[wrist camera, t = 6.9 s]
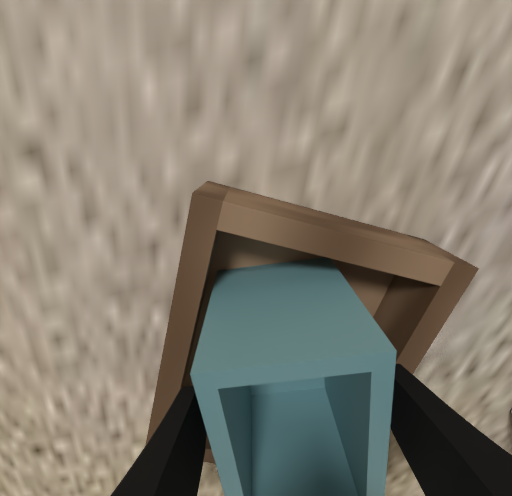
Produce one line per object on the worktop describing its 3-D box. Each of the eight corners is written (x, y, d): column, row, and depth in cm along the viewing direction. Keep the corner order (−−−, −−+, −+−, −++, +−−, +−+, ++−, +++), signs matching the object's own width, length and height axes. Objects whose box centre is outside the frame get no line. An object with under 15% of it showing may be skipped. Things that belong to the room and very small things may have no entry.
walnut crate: (424, 239, 13) (478, 268, 10) (327, 423, 17) (344, 482, 14) (207, 180, 11) (192, 193, 8) (164, 395, 16) (144, 452, 13)
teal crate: (329, 256, 12) (396, 350, 7) (332, 384, 15) (381, 526, 9) (217, 270, 12) (190, 374, 7) (242, 395, 15) (237, 540, 10)
